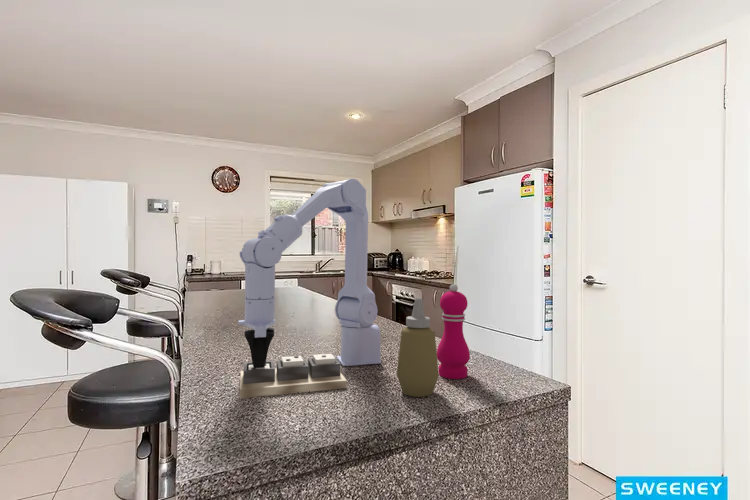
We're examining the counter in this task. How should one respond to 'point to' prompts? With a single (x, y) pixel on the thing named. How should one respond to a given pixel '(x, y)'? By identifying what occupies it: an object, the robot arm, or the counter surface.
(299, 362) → the tile two
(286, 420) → the counter surface
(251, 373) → the tile board
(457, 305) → the pepper mill
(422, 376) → the squeeze bottle
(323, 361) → the tile one
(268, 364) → the tile three
